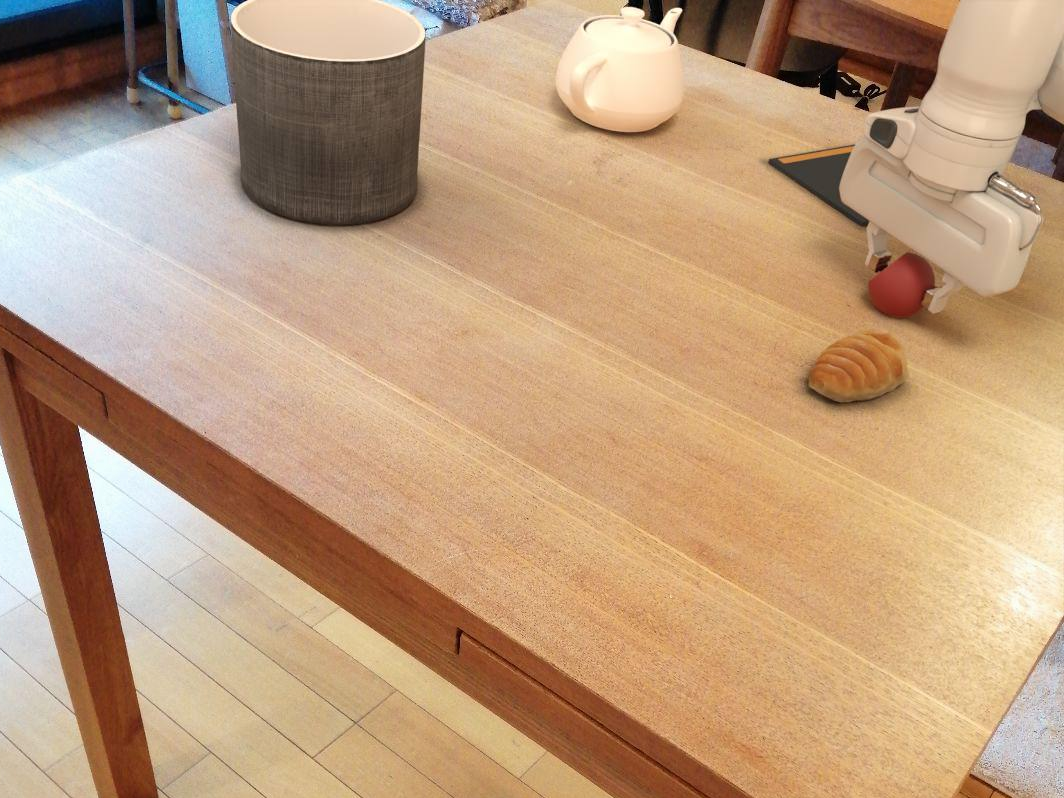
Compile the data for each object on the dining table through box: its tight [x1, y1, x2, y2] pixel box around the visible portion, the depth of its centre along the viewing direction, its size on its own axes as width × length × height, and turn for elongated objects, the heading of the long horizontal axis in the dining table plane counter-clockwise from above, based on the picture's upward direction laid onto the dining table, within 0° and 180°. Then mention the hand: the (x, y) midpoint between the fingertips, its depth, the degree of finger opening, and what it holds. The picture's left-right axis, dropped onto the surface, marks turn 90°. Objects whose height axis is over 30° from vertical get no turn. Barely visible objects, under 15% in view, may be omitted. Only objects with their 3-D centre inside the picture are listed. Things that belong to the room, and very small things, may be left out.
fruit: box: [867, 251, 944, 318], centre depth 105 cm, size 6×6×8 cm
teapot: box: [554, 6, 686, 133], centre depth 130 cm, size 25×16×12 cm, turn 147°
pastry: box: [808, 328, 910, 404], centre depth 95 cm, size 9×7×4 cm
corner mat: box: [768, 143, 869, 227], centre depth 128 cm, size 20×16×1 cm
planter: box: [229, 0, 427, 225], centre depth 106 cm, size 18×18×16 cm
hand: (902, 288), depth 106 cm, fingers closed on fruit, 6 cm apart
